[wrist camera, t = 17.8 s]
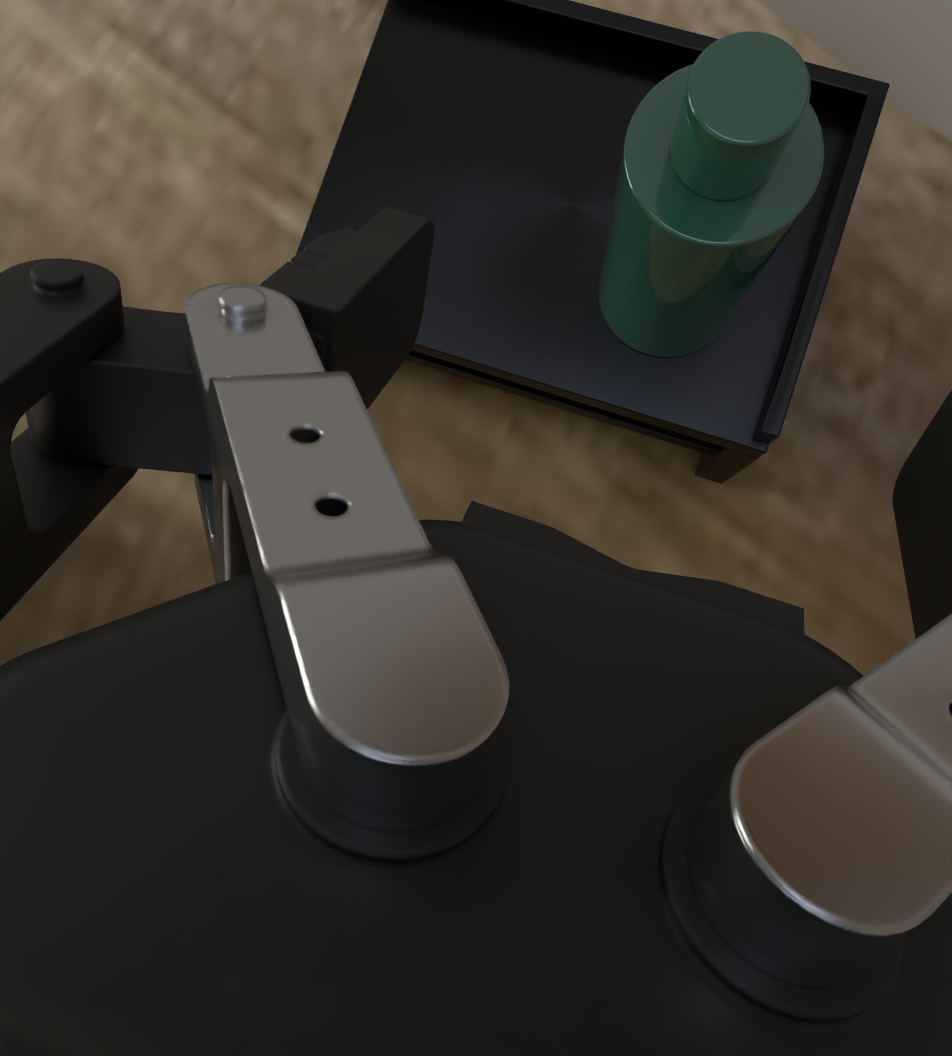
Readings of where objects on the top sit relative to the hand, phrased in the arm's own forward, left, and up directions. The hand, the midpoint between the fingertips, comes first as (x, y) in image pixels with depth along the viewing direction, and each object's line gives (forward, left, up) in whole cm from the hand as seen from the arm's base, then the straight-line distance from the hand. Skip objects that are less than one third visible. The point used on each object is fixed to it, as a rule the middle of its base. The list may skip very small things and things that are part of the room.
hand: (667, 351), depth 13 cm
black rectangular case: (-4, +10, -23) cm, 25 cm away
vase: (0, +8, -16) cm, 18 cm away
